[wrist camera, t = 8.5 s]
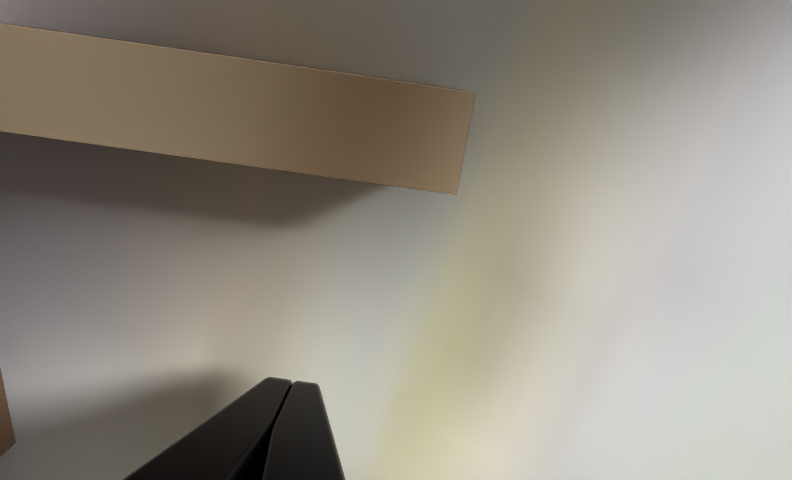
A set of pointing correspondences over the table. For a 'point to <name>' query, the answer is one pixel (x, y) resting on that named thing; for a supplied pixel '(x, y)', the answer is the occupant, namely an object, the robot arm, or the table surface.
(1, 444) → the walnut block
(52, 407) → the table surface
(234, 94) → the tunnel
